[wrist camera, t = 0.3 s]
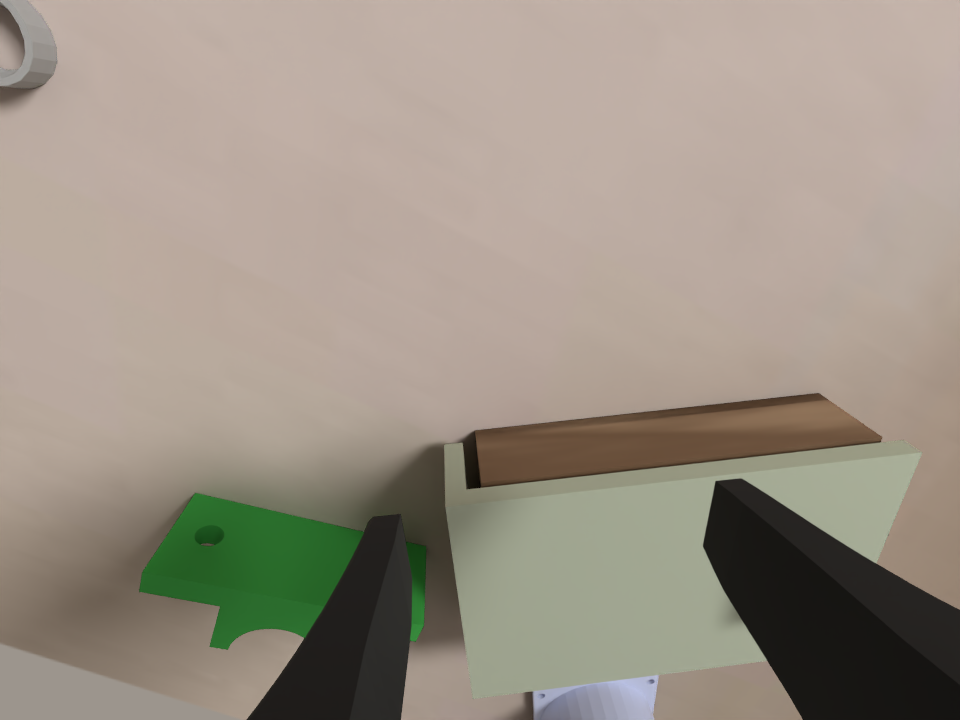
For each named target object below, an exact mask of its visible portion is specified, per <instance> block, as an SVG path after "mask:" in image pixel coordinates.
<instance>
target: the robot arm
mask: <svg viewBox="0 0 960 720" xmlns="http://www.w3.org/2000/svg"><path fill="white" fill-rule="evenodd" d="M703 548H704V550H705V552H706V554H707V557H708V559H709V561H710V563H711V565H712V568H713V570H714V572H715V574H716V576H717V578H718V580H719V582H720V584H721V586H722V588H723V590H724V592H725V594H726V595H727V597H728V598H729V600H730V602H731V603H732V605H733V607H734V608H735V610H736V612H737V613H738V615H739V616H740V618H741V620H742V621H743V623H744V624H745V626H746V628H747V629H748V631H749V632H750V634H751V636H752V637H753V639H754V640H755V642H756V644H757V645H758V647H759V648H760V650H761V651H762V653H763V655H764V656H765V658H766V659H767V661H768V663H769V664H770V666H771V667H772V669H773V671H774V672H775V674H776V675H777V677H778V679H779V680H780V682H781V683H782V685H783V686H784V688H785V690H786V691H787V693H788V695H789V696H790V698H791V700H792V701H793V703H794V705H795V707H796V708H797V710H798V712H799V713H800V715H801V717H802V719H803V720H960V610H959V609H957V608H955V607H953V606H951V605H949V604H947V603H945V602H943V601H941V600H939V599H938V598H936V597H934V596H932V595H930V594H928V593H926V592H925V591H923V590H921V589H919V588H917V587H916V586H914V585H912V584H910V583H909V582H907V581H905V580H903V579H902V578H900V577H898V576H897V575H895V574H893V573H891V572H890V571H888V570H886V569H885V568H883V567H881V566H879V565H878V564H876V563H874V562H873V561H871V560H869V559H868V558H866V557H864V556H863V555H861V554H859V553H858V552H856V551H855V550H853V549H851V548H850V547H848V546H846V545H845V544H843V543H842V542H840V541H838V540H837V539H835V538H834V537H832V536H831V535H829V534H827V533H826V532H824V531H823V530H821V529H820V528H818V527H817V526H815V525H813V524H812V523H810V522H809V521H807V520H806V519H804V518H803V517H801V516H800V515H798V514H797V513H795V512H794V511H792V510H790V509H789V508H787V507H786V506H784V505H783V504H781V503H780V502H778V501H777V500H775V499H774V498H772V497H771V496H769V495H768V494H766V493H764V492H763V491H761V490H760V489H758V488H757V487H755V486H753V485H752V484H750V483H749V482H747V481H745V480H744V479H742V478H739V479H729V480H720V481H715V486H714V491H713V496H712V501H711V506H710V511H709V516H708V521H707V526H706V531H705V536H704V542H703ZM411 626H412V574H411V568H410V563H409V558H408V552H407V547H406V541H405V536H404V530H403V525H402V519H401V514H397V515H387V516H378V517H373V518H372V519H371V520H370V521H369V522H368V525H367V527H366V529H365V531H364V534H363V536H362V538H361V540H360V542H359V544H358V546H357V548H356V550H355V552H354V554H353V556H352V558H351V560H350V562H349V564H348V566H347V567H346V569H345V571H344V573H343V575H342V577H341V578H340V580H339V582H338V584H337V585H336V587H335V589H334V591H333V592H332V594H331V596H330V598H329V600H328V601H327V603H326V605H325V606H324V608H323V610H322V611H321V613H320V615H319V616H318V618H317V619H316V621H315V623H314V624H313V626H312V627H311V629H310V630H309V632H308V634H307V635H306V637H305V638H304V640H303V641H302V643H301V645H300V646H299V648H298V649H297V651H296V652H295V654H294V655H293V657H292V658H291V660H290V661H289V663H288V664H287V666H286V667H285V668H284V670H283V671H282V673H281V674H280V676H279V677H278V678H277V680H276V681H275V683H274V684H273V685H272V687H271V688H270V689H269V691H268V692H267V693H266V695H265V696H264V698H263V699H262V700H261V702H260V703H259V704H258V706H257V707H256V708H255V710H254V711H253V712H252V713H251V715H250V716H249V717H248V719H247V720H401V713H402V705H403V696H404V687H405V679H406V670H407V662H408V653H409V644H410V635H411ZM658 676H659V675H654V676H646V677H639V678H631V679H623V680H616V681H608V682H600V683H592V684H585V685H577V686H569V687H562V688H554V689H546V690H539V691H532V698H533V720H654V717H653V710H654V703H655V696H656V690H657V683H658Z"/></svg>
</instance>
